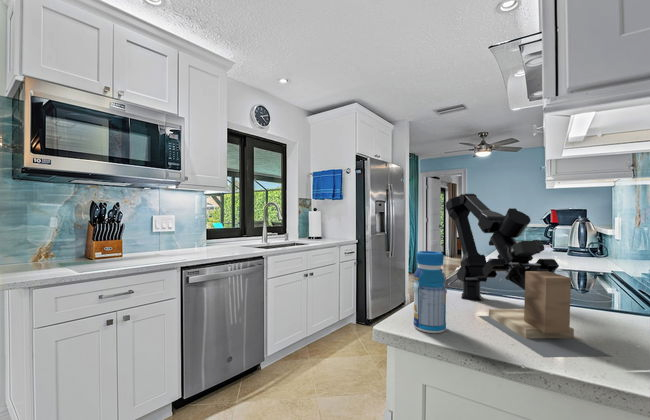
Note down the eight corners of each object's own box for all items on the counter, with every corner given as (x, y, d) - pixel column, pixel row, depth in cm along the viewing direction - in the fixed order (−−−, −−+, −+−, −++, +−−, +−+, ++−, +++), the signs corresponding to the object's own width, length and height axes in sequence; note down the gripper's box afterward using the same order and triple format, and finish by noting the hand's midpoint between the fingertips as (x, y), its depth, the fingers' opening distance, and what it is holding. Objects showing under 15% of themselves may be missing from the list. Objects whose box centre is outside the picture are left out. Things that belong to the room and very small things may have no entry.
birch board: (488, 316, 89) (488, 308, 89) (528, 316, 89) (528, 308, 89) (525, 338, 73) (525, 329, 73) (573, 337, 74) (573, 328, 74)
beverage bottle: (429, 336, 75) (430, 255, 75) (406, 325, 82) (406, 251, 82) (453, 331, 78) (454, 253, 79) (429, 320, 86) (429, 249, 86)
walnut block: (524, 321, 78) (525, 271, 78) (546, 321, 79) (547, 271, 78) (544, 332, 71) (546, 277, 71) (569, 332, 72) (570, 277, 71)
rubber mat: (477, 317, 89) (477, 316, 89) (527, 316, 90) (527, 315, 90) (543, 358, 64) (543, 356, 64) (612, 357, 64) (612, 356, 64)
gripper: (487, 229, 84) (514, 277, 73) (553, 229, 85) (589, 277, 73) (473, 254, 92) (495, 301, 80) (533, 254, 92) (563, 301, 81)
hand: (535, 295), depth 79 cm, fingers closed
